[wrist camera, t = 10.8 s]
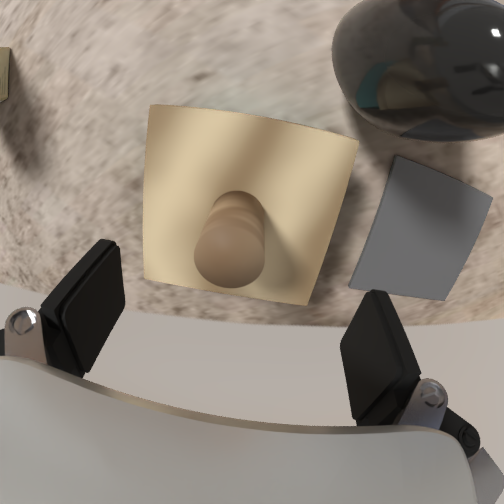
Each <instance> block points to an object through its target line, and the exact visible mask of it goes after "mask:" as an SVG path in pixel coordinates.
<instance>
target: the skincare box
mask: <svg viewBox="0 0 504 504" xmlns="http://www.w3.org/2000/svg"><path fill="white" fill-rule="evenodd" d="M9 55H10V48H9V47H0V102H2V101H4V100H5V99H7V98H8V69H9Z"/></svg>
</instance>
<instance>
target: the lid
mask: <svg viewBox="0 0 504 504" xmlns="http://www.w3.org/2000/svg"><path fill="white" fill-rule="evenodd" d="M359 142H360V141H358V140H356V139H354V138H351V137H347V136H344V135H340V134H336V133H333V132H329V131H325V130H321V129H317V128H313V127H309V126H305V125H301V124H296V123H292V122H287V121H282V120H277V119H272V118H267V117H261V116H256V115H250V114H244V113H237V112H230V111H223V110H215V109H207V108H197V107H187V106H174V105H158V104H156V105H150V110H149V119H148V128H147V139H146V152H145V168H144V190H143V261H144V279H148V280H153V281H158V282H163V283H168V284H174V285H179V286H184V287H190V288H195V289H201V290H206V291H212V292H218V293H224V294H230V295H236V296H242V297H248V298H255V299H261V300H268V301H274V302H281V303H288V304H295V305H303V306H307V304H308V302H309V299H310V296H311V294H312V291H313V288H314V285H315V283H316V280H317V277H318V274H319V272H320V269H321V266H322V263H323V260H324V257H325V254H326V252H327V249H328V246H329V243H330V240H331V237H332V234H333V231H334V228H335V224H336V221H337V218H338V215H339V212H340V209H341V205H342V202H343V199H344V195H345V192H346V189H347V185H348V182H349V178H350V175H351V171H352V168H353V164H354V161H355V157H356V153H357V150H358V146H359Z"/></svg>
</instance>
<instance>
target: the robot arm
mask: <svg viewBox="0 0 504 504" xmlns="http://www.w3.org/2000/svg"><path fill="white" fill-rule="evenodd" d="M124 307H125V294H124V286H123V277H122V267H121V256H120V248H119V246H117V245H116V242H115V241H111V240H106V239H100V240H99V241H98V242H97V243H96V244H95V245H94V246H93V247H92V248H91V249H90V250H89V251H88V252H87V253H86V254H85V255H84V256H83V257H82V258H81V260H80V261H79V262H78V263H77V264H76V265H75V266H74V267H73V268H72V269H71V270H70V271H69V273H68V274H67V275H66V276H65V277H64V278H63V279H62V280H61V282H60V283H59V284H58V285H57V286H56V287H55V289H54V290H53V291H52V292H51V293H50V294H49V296H48V297H47V298H46V299H45V300H44V302H43V303H42V304H41V308H40V310H39V311H37V310H36V309H34V308H31V307H22V308H19V309H17V310H15V311H13V312H12V313H11V314H10V315H9V316H8V318H7V320H6V322H5V328H4V329H2V330H0V504H495V502H496V501H497V499H498V497H499V496H500V494H501V493H502V491H503V488H504V475H503V473H502V472H501V470H500V469H499V468H498V466H497V465H496V464H495V462H494V461H493V460H492V458H491V457H490V456H489V454H488V453H487V452H486V450H485V449H484V448H483V447H482V448H480V449H479V447H480V437H479V434H478V432H477V430H476V429H475V428H474V427H473V426H472V425H471V424H469V423H468V422H467V421H465V420H464V419H463V418H461V417H460V416H458V415H457V414H456V413H454V412H453V411H451V410H450V409H449V408H448V407H447V404H448V396H447V393H446V390H445V389H444V388H443V386H442V385H441V384H440V383H439V382H437V381H435V380H433V379H429V378H426V379H422V380H421V379H420V376H419V375H420V374H421V371H420V368H419V366H418V363H417V360H416V358H415V355H414V353H413V350H412V348H411V345H410V343H409V340H408V338H407V336H406V333H405V331H404V328H403V326H402V324H401V322H400V319H399V317H398V315H397V313H396V310H395V308H394V306H393V304H392V302H391V299H390V297H389V295H388V293H387V292H386V291H382V290H376V289H372V290H371V291H370V292H367V293H366V294H365V295H364V297H363V300H362V302H361V304H360V306H359V308H358V309H357V311H356V313H355V315H354V317H353V319H352V321H351V323H350V325H349V327H348V329H347V330H346V332H345V334H344V336H343V338H342V340H341V343H340V350H341V356H342V361H343V366H344V372H345V377H346V382H347V388H348V394H349V400H350V406H351V412H352V417H353V419H355V420H356V424H357V426H303V425H288V424H276V423H266V422H257V421H248V420H241V419H234V418H228V417H222V416H216V415H210V414H205V413H200V412H195V411H190V410H186V409H181V408H177V407H173V406H169V405H165V404H160V403H157V402H153V401H149V400H146V399H142V398H139V397H135V396H132V395H129V394H126V393H122V392H119V391H116V390H113V389H110V388H107V387H104V386H102V385H99V384H96V383H93V382H90V381H88V380H85V379H82V378H83V376H84V374H85V372H86V373H88V372H89V371H90V370H91V368H92V366H93V364H94V362H95V360H96V358H97V356H98V355H99V353H100V351H101V349H102V347H103V345H104V343H105V341H106V340H107V338H108V336H109V334H110V332H111V330H112V329H113V327H114V325H115V323H116V322H117V320H118V318H119V316H120V315H121V313H122V311H123V309H124Z"/></svg>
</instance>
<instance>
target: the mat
mask: <svg viewBox="0 0 504 504" xmlns="http://www.w3.org/2000/svg"><path fill="white" fill-rule="evenodd" d="M492 200H493V197H491V196H489V195H487V194H485V193H483V192H481V191H479V190H477V189H475V188H473V187H471V186H469V185H467V184H465V183H463V182H461V181H459V180H456V179H454V178H452V177H450V176H447V175H445V174H443V173H440V172H438V171H436V170H433V169H431V168H428V167H426V166H424V165H421V164H418V163H416V162H413V161H411V160H408V159H405V158H403V157H400V156H397V155H395V157H394V160H393V164H392V167H391V170H390V174H389V177H388V180H387V183H386V186H385V190H384V193H383V196H382V199H381V202H380V205H379V207H378V210H377V213H376V216H375V219H374V222H373V224H372V227H371V230H370V233H369V235H368V238H367V240H366V243H365V246H364V248H363V251H362V253H361V256H360V258H359V261H358V263H357V266H356V268H355V271H354V273H353V275H352V278H351V280H350V282H349V285H348V286H349V288H353V289H360V290H367V291H371V290H372V289H376V290H382V291H386V292H387V293H388V294H396V295H403V296H411V297H418V298H426V299H434V300H442V301H445V299H446V297H447V296H448V294H449V292H450V290H451V289H452V287H453V285H454V283H455V281H456V280H457V278H458V276H459V274H460V272H461V270H462V268H463V266H464V264H465V262H466V260H467V258H468V256H469V254H470V252H471V250H472V248H473V246H474V244H475V241H476V239H477V237H478V235H479V232H480V230H481V228H482V225H483V223H484V221H485V218H486V216H487V213H488V210H489V208H490V205H491V202H492Z"/></svg>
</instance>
